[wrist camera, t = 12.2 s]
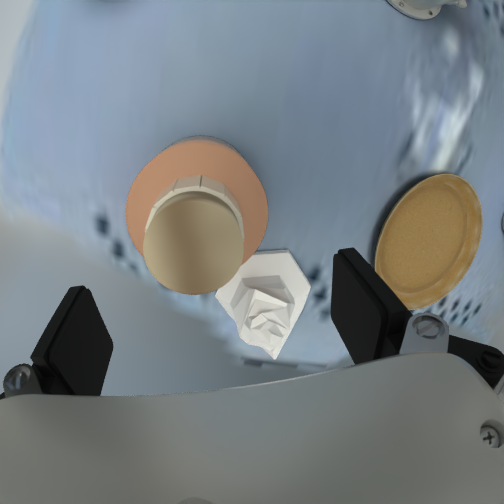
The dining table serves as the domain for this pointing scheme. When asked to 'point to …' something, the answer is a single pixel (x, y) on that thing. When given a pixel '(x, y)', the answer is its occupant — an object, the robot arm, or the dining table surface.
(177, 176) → the orange jar
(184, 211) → the stopper
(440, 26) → the dining table surface
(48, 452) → the robot arm
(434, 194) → the plant saucer
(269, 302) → the soft serve ice cream
